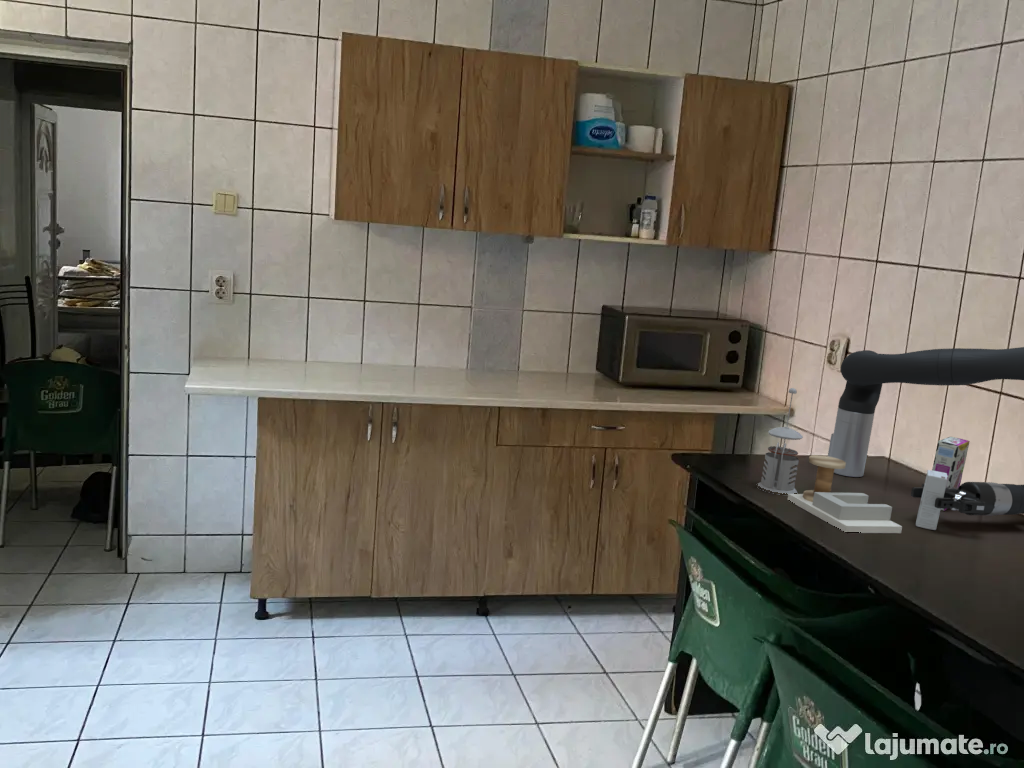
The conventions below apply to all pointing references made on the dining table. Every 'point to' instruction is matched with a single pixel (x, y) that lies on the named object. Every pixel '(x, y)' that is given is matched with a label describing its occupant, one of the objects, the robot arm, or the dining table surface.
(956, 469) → the candy bar box
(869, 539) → the dining table surface
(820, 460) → the bobbin
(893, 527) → the notched board
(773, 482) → the french press
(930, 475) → the skincare box
